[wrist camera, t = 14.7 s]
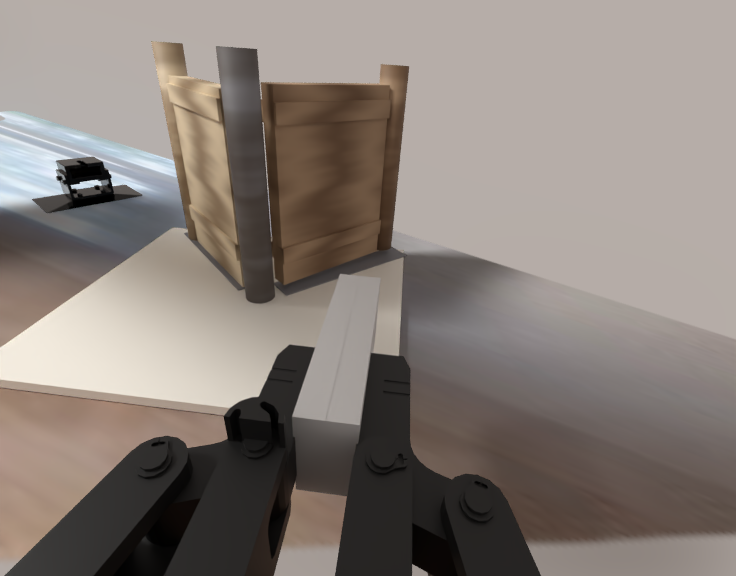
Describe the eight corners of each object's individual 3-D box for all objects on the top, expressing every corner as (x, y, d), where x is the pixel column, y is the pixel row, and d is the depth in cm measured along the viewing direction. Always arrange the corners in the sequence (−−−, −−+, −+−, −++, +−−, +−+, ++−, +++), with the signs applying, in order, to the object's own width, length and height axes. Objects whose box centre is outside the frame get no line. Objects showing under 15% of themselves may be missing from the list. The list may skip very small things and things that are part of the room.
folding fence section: (287, 287, 28) (275, 59, 20) (272, 276, 29) (255, 57, 22) (395, 246, 35) (414, 66, 27) (379, 239, 36) (394, 65, 29)
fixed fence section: (280, 298, 27) (263, 49, 20) (253, 306, 26) (225, 46, 18) (208, 231, 36) (177, 43, 29) (186, 235, 35) (147, 41, 28)
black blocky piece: (33, 223, 38) (14, 177, 36) (15, 204, 42) (-3, 161, 40) (161, 199, 46) (152, 160, 44) (136, 184, 50) (127, 148, 48)
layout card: (-33, 383, 20) (-40, 373, 19) (175, 232, 37) (173, 225, 37) (399, 437, 19) (400, 427, 18) (406, 255, 36) (406, 248, 36)
